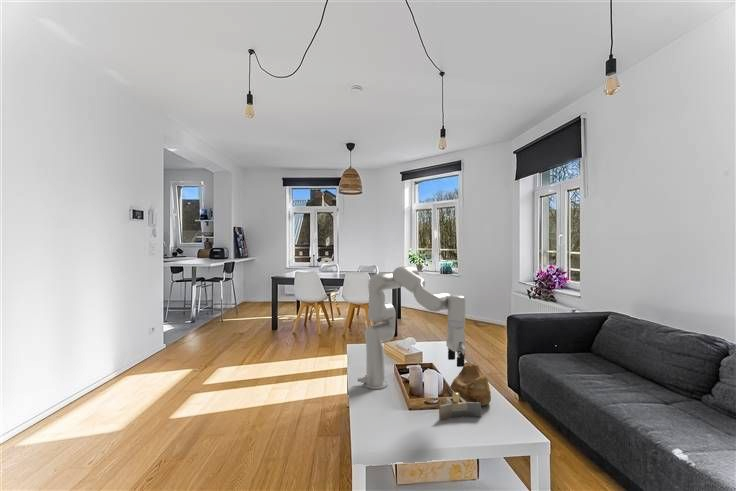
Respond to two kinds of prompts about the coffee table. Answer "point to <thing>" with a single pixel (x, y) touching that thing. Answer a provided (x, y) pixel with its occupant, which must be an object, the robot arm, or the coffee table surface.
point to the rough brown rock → (472, 384)
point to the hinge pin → (456, 397)
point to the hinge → (459, 409)
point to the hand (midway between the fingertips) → (455, 362)
